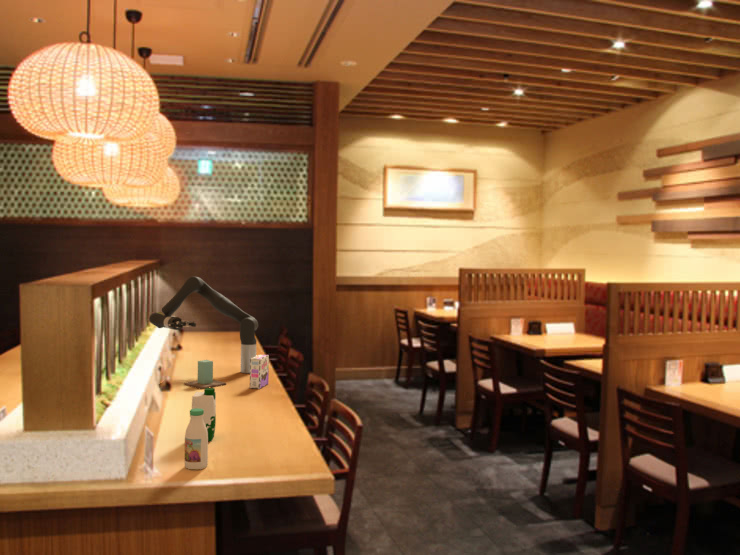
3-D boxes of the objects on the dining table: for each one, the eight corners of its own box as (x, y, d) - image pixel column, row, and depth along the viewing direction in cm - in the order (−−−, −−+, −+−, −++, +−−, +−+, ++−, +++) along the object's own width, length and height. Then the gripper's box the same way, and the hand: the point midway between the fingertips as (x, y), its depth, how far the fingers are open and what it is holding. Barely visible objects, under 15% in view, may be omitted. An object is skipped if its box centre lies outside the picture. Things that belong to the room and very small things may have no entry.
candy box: (259, 389, 338) (260, 358, 338) (249, 388, 340) (249, 358, 339) (268, 384, 352) (269, 354, 351) (258, 383, 353) (259, 354, 352)
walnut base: (208, 380, 358) (209, 366, 357) (226, 384, 347) (226, 370, 347) (184, 384, 346) (184, 370, 345) (201, 389, 335) (201, 374, 335)
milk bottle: (197, 461, 224) (198, 405, 223) (212, 466, 219) (213, 409, 218) (179, 467, 217) (180, 409, 216) (194, 472, 213) (195, 413, 212)
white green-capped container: (213, 442, 246) (213, 391, 245) (189, 442, 245) (190, 391, 244) (216, 435, 254) (217, 386, 254) (193, 435, 254) (194, 386, 253)
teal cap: (206, 381, 350) (206, 359, 350) (212, 382, 347) (213, 361, 346) (197, 382, 346) (197, 361, 346) (203, 384, 342) (204, 362, 342)
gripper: (162, 317, 369) (178, 319, 358) (183, 315, 380) (199, 318, 369) (162, 330, 369) (177, 333, 359) (183, 328, 380) (199, 330, 370)
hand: (188, 325), depth 364 cm, fingers open, 8 cm apart
